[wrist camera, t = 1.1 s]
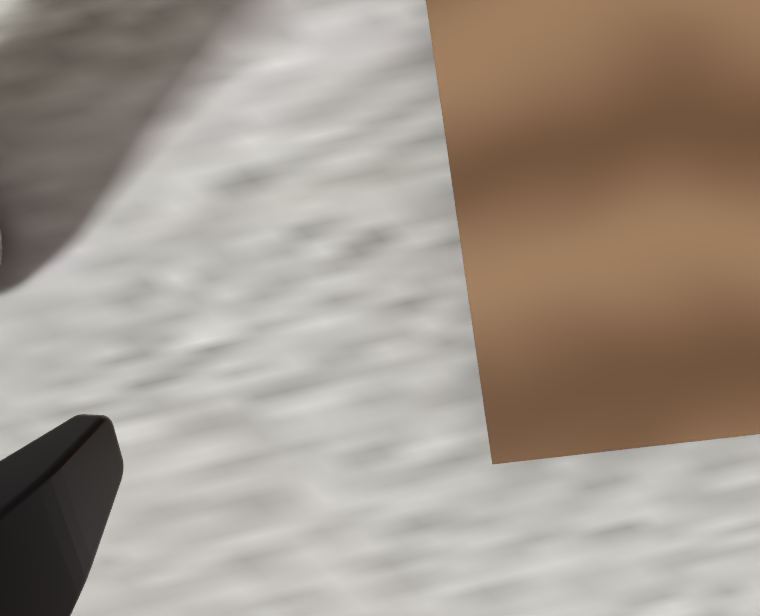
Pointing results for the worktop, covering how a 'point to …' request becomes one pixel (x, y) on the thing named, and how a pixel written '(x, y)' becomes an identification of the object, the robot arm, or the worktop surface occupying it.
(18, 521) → the robot arm
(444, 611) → the worktop surface
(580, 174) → the shelf board
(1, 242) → the plastic bottle
